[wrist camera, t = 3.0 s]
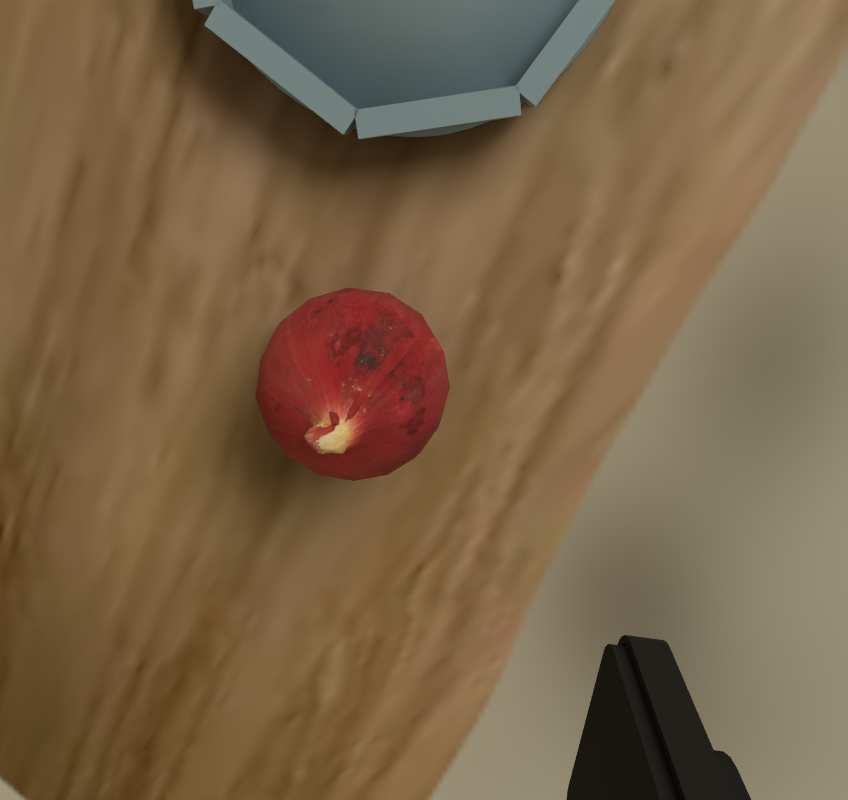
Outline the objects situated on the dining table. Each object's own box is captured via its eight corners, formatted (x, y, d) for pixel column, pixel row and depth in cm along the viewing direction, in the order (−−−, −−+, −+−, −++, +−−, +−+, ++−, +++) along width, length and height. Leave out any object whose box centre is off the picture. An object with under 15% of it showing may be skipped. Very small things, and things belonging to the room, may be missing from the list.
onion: (337, 238, 24) (287, 279, 16) (479, 326, 25) (493, 404, 17) (259, 375, 26) (181, 470, 18) (393, 454, 27) (373, 574, 19)
